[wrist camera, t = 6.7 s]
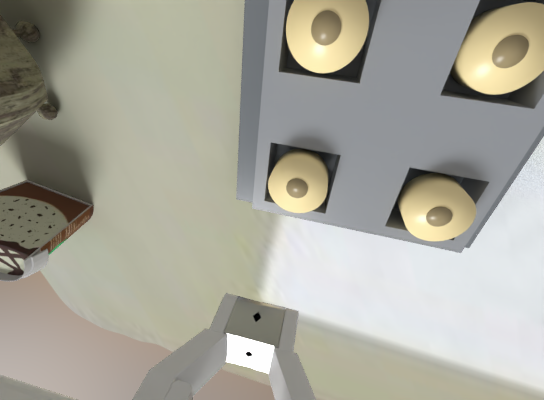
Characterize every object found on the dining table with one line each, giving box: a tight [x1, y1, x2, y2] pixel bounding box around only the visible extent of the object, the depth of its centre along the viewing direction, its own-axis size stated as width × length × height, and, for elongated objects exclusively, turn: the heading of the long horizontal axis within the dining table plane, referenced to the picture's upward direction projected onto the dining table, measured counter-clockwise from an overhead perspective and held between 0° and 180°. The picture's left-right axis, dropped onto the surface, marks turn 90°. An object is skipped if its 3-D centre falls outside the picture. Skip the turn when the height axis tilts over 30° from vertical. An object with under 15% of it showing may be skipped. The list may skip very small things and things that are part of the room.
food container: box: [0, 180, 93, 281], centre depth 32 cm, size 12×6×10 cm, turn 73°
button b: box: [268, 149, 329, 213], centre depth 21 cm, size 4×4×2 cm
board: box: [236, 0, 544, 253], centre depth 18 cm, size 22×26×5 cm
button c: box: [450, 2, 544, 95], centre depth 16 cm, size 4×4×2 cm
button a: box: [398, 173, 476, 241], centre depth 19 cm, size 4×4×2 cm
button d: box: [286, 0, 369, 73], centre depth 15 cm, size 4×4×2 cm
